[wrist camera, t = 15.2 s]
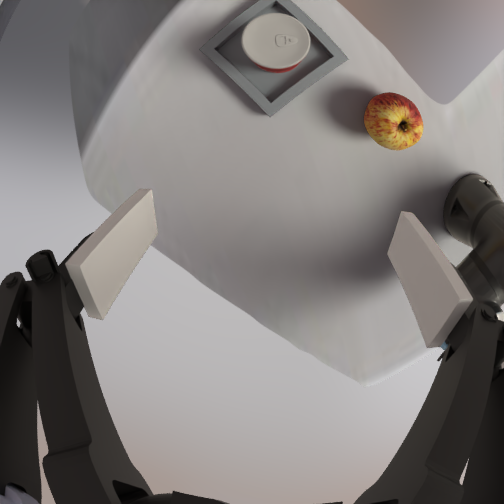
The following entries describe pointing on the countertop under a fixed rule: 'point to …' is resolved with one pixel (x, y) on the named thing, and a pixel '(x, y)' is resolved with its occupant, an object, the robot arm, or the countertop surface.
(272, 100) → the tray
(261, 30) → the canned food
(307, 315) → the countertop surface
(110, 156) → the countertop surface
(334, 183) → the countertop surface
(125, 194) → the countertop surface
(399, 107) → the apple
